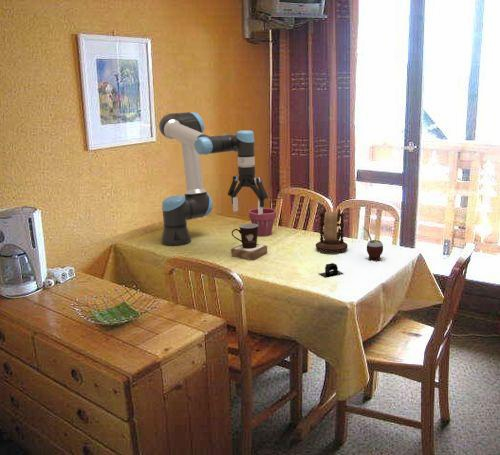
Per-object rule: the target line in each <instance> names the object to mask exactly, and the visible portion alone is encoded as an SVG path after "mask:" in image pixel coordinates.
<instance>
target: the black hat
mask: <svg viewBox="0 0 500 455" xmlns="http://www.w3.org/2000/svg"><path fill="white" fill-rule="evenodd" d="M338 267H339V266H338V264H336V263H334V262H332V263H326V264H325V266H324V272H321V273H320V272H319V273H318V275H319V276H321V277H322V278H324V279H326V278H327V279H328V278H332V277H337V276H341V275H345V273H343V272H341V271H340V270H338Z"/></svg>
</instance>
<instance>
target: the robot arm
mask: <svg viewBox="0 0 500 455" xmlns="http://www.w3.org/2000/svg"><path fill="white" fill-rule="evenodd" d="M158 130H159V131H160V133H161V135H162V136H163V137H165V138H167V139H169V140H176V141H178V142H179V143H180V144H181V151H182V159H183V160H182V162H183V169H184V176H185V184H186V185H185V187H186V191H185V192H184V195H181V194H180V195H178V194H177V195H171V196H168V197H165V198H164V199H163V200H162V205H161V210H162V219H163V220H162V221H163V231H162V235H161V244H162V243H163V244H162V245H164V244H165V245H164V246H169V247H170V246H171V247H174V246H175V247H176V246H183V245H187V244H190V243H191V242H192V237H191V234H190V231H189V229H188V226H187V224H188V223H187V221H188V220H189V221H190V220H194V219H198V218H203V217H207V216H209V215H210V213H211V212H212V210H213V205H214V204H213V199H212V196H211V195H210V194H209V193H208V192H207V190H206V189H205V188H204V184H203V183H204V182H203V174H202V164H201V156H200V155H206V156H207V155H210V154H211V155H212V154H219V153H227V152H229V153H230V152H237V165H238V167H237V172H238V173H237V174H238V175H234V176H233V177H232V181H231V184H230V187H229V189H228V192H227V196H229V197H231V204H232V211H233V212H238V211H239V202H238V200H239V199H238V196H237V195H238V194H239V192H240V191H241V190H242V188H250V189H252V191H253V192H254V194H255V196H256V197H257V198H258V199H257V208H258V215H260V214H263V208H265V200H266V199H268V198H269V196H268V193H267V192H266V189H265V187H264V184H263V183H262V182H263V180H262V177H261V176H259V177H256V176H255V174H256V167H255V165H256V163H255V162H256V159H255V158H256V157H255V141H256V140H255V135H254V134H255V133H254V131H252V130H238V131H237V132H236V134H232V133H225V134H221V135H213V136H212V135H208V134H205V133H204V130H205V123H204V120H203V118H202V117H201V115H200V114H199V113H197V112H190V111H189V112H176V113H167V114H165V115H164V116H163V117H161V119H160V120H159V124H158ZM238 181H239V183H238Z"/></svg>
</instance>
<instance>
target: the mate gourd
mask: <svg viewBox="0 0 500 455" xmlns="http://www.w3.org/2000/svg"><path fill="white" fill-rule="evenodd" d="M362 228H363V229H364V230H366V232H367V234H368V238H369V241H368V242H367V244H366V252H367V254H368V257H369V258H368V261H374V260H375V261H378V262H380V261H381V256H382V254H383V252H384V245H383V243H382V241H381V240H376V239H372V237H371V234H370V231H369V230H368V228H366V227H365V226H362Z"/></svg>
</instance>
